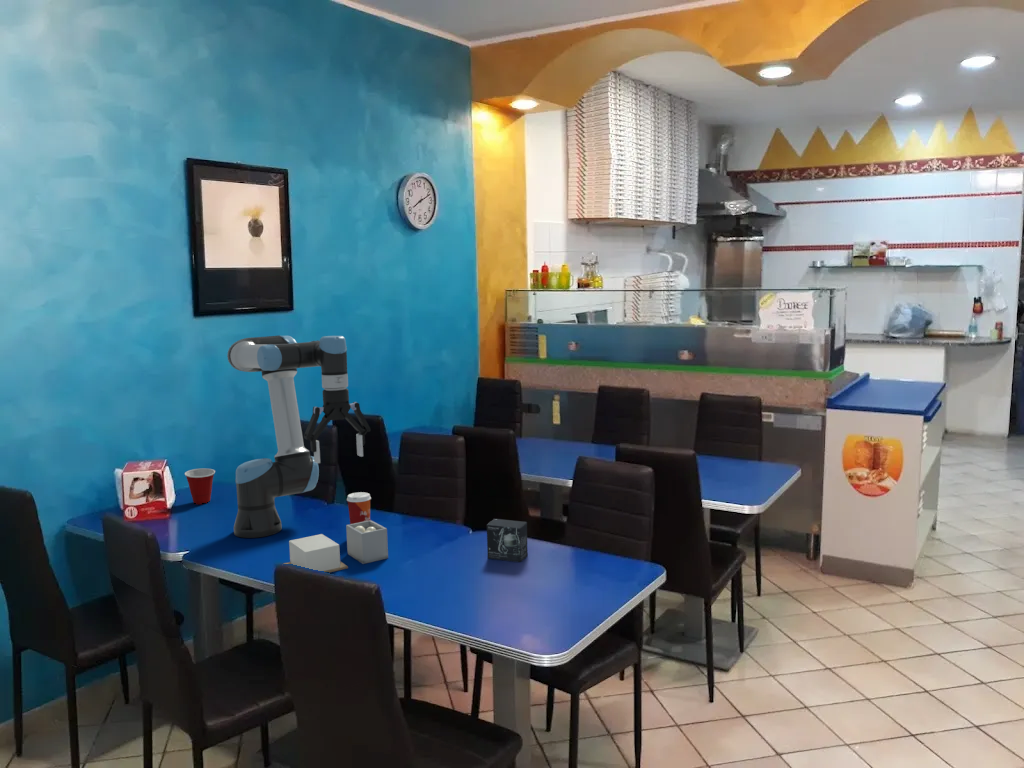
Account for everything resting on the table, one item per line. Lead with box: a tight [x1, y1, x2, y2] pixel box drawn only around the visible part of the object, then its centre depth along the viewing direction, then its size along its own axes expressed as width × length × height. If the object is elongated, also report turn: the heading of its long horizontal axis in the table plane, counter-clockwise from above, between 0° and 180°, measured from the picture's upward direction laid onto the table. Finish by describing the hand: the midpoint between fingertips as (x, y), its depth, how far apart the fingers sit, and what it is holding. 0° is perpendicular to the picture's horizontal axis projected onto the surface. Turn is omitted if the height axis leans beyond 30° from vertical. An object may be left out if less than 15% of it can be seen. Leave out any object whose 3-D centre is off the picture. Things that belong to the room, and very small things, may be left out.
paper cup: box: [346, 491, 372, 524], centre depth 264 cm, size 8×8×14 cm
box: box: [486, 518, 529, 563], centre depth 242 cm, size 11×7×10 cm, turn 68°
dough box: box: [345, 519, 389, 565], centre depth 246 cm, size 11×8×9 cm
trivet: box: [283, 560, 349, 574], centre depth 239 cm, size 14×14×1 cm
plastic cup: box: [184, 468, 216, 505], centre depth 311 cm, size 11×11×12 cm
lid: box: [288, 533, 341, 571], centre depth 238 cm, size 13×10×7 cm
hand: (339, 459), depth 247 cm, fingers open, 13 cm apart
